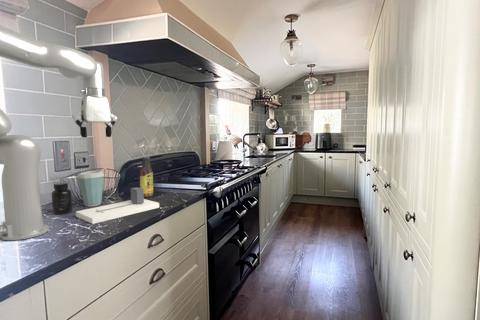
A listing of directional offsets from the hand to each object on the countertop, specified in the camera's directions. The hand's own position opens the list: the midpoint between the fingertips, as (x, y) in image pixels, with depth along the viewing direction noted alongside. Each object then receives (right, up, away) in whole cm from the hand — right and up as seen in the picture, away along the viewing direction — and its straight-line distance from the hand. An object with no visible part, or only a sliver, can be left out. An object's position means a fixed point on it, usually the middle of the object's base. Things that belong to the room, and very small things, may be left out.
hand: (96, 137), depth 117 cm
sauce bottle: (+11, -28, +29) cm, 42 cm away
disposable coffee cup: (-8, -29, +12) cm, 33 cm away
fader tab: (+14, -27, +7) cm, 31 cm away
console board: (+9, -30, +1) cm, 32 cm away
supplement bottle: (-14, -31, 0) cm, 34 cm away
